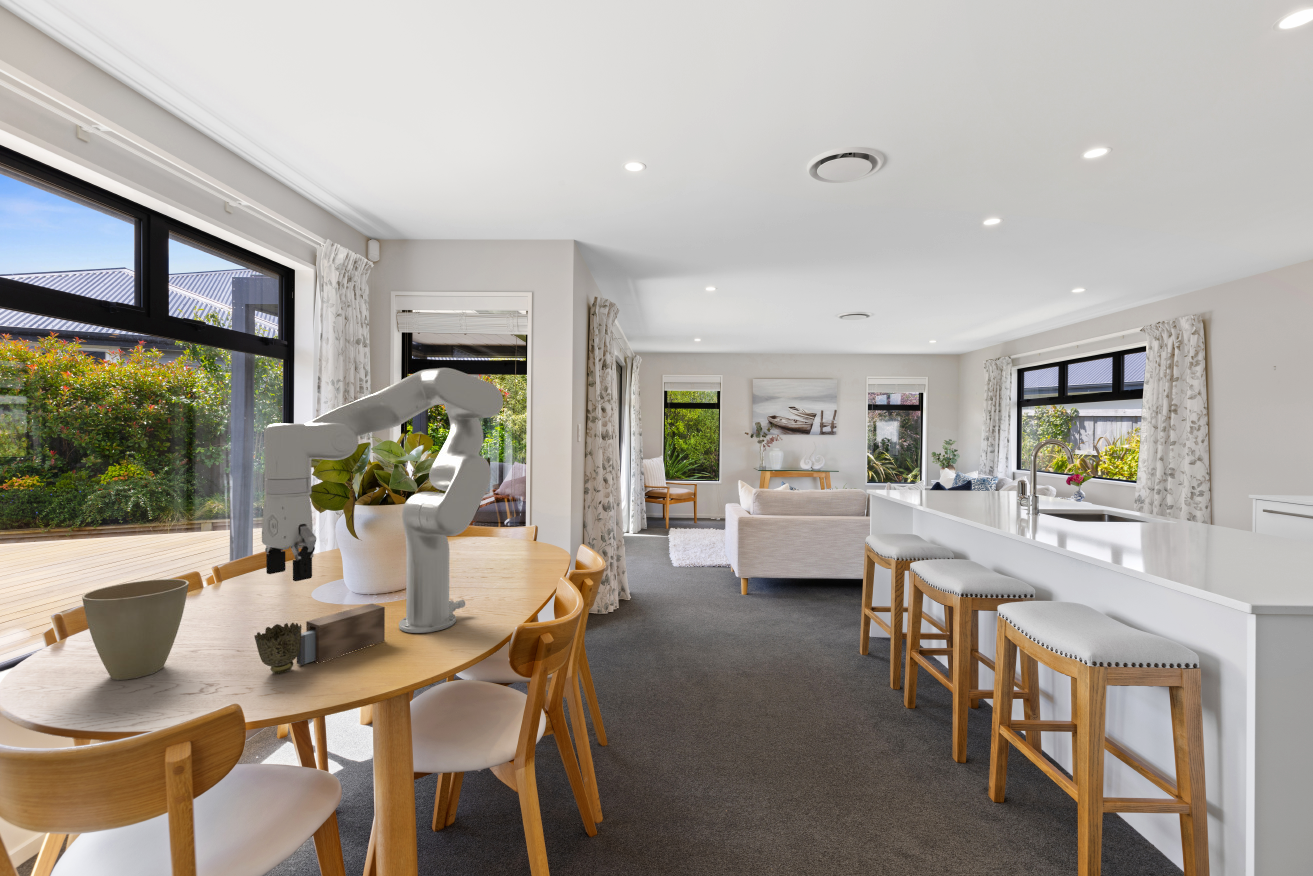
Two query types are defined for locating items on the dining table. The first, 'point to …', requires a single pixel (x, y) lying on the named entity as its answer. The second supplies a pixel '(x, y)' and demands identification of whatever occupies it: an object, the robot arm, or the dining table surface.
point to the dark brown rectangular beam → (348, 631)
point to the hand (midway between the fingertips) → (289, 576)
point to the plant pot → (135, 624)
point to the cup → (279, 646)
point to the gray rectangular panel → (307, 648)
